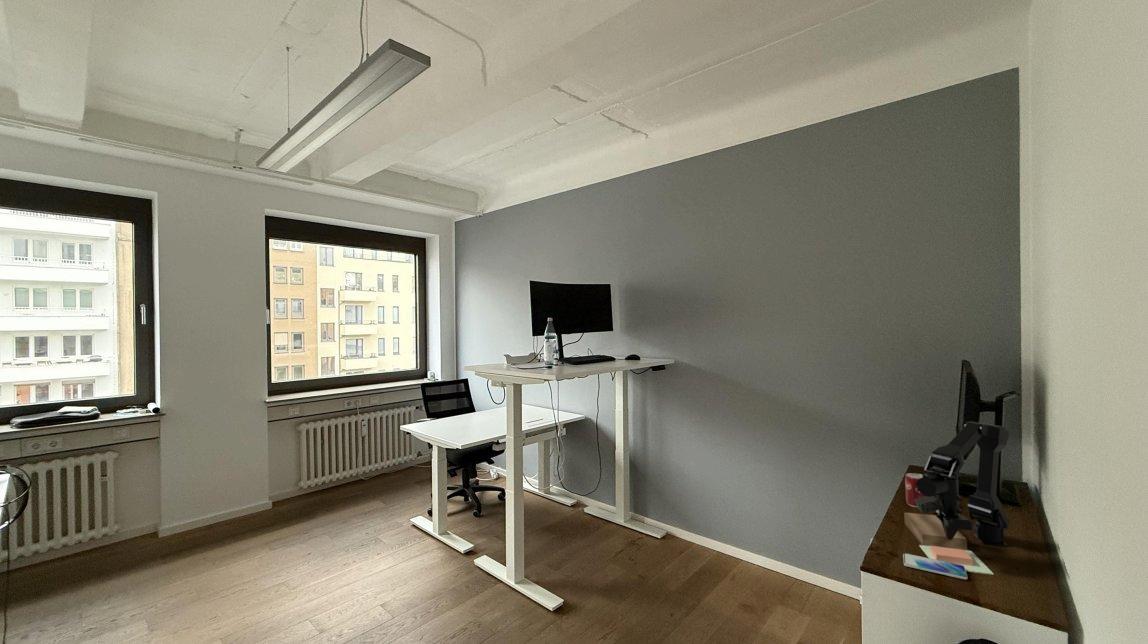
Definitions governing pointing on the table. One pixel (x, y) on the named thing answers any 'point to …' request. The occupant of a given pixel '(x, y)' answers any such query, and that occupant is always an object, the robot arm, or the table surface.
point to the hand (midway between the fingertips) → (949, 539)
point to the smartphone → (935, 566)
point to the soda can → (912, 488)
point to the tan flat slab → (932, 531)
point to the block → (951, 555)
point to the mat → (977, 564)
